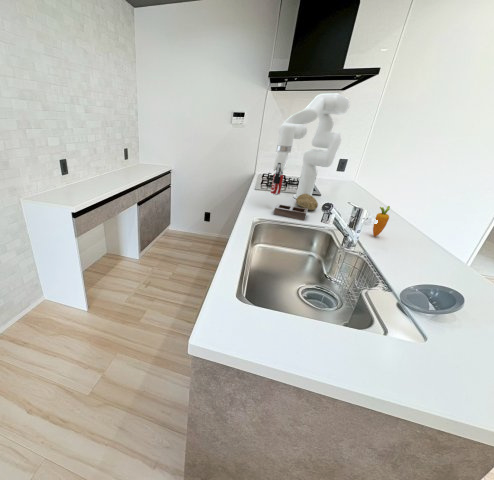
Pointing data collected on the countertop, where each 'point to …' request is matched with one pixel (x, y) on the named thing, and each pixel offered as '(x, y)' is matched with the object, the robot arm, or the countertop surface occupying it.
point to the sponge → (307, 201)
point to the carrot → (381, 221)
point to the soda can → (276, 186)
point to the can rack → (291, 211)
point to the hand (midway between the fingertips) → (277, 182)
